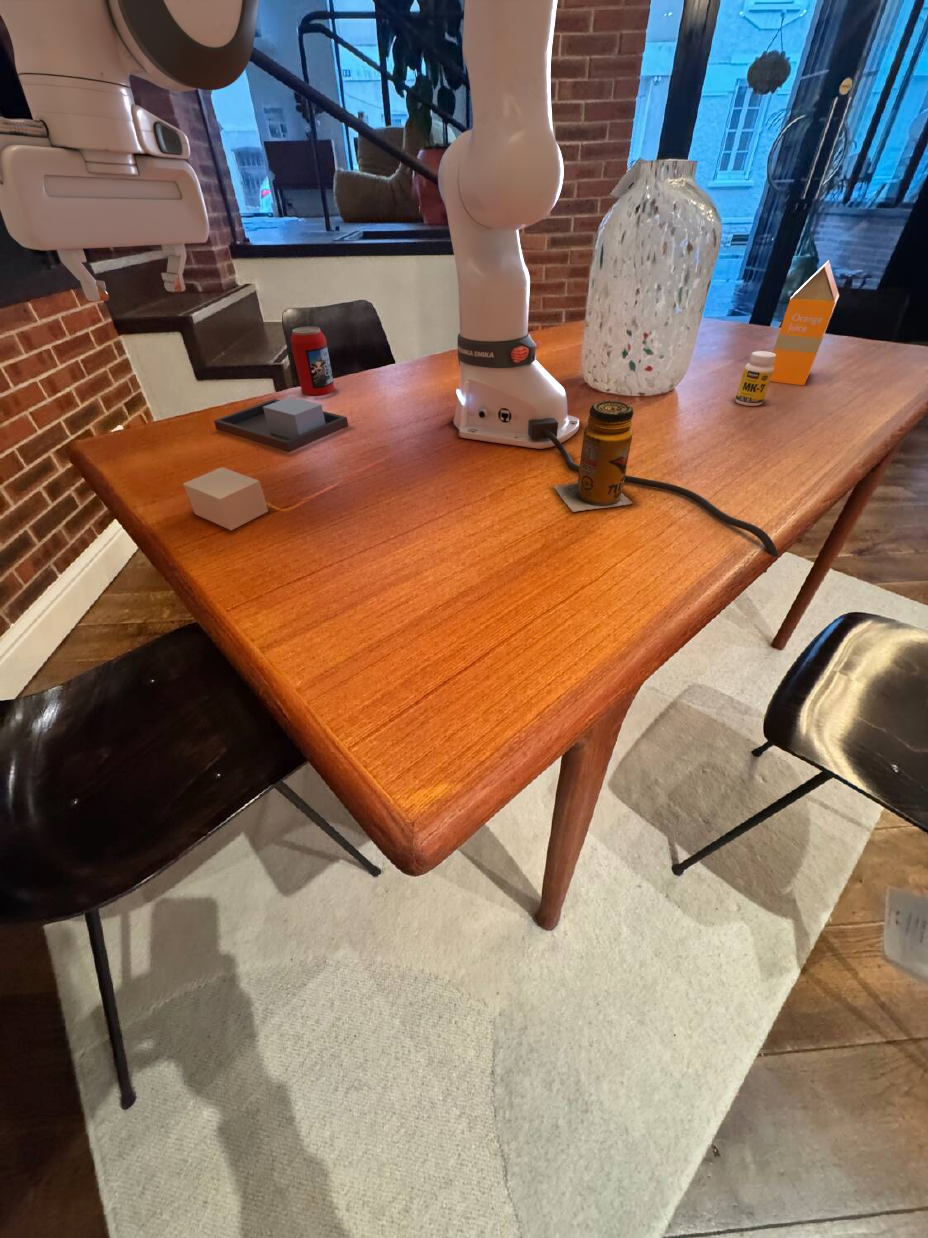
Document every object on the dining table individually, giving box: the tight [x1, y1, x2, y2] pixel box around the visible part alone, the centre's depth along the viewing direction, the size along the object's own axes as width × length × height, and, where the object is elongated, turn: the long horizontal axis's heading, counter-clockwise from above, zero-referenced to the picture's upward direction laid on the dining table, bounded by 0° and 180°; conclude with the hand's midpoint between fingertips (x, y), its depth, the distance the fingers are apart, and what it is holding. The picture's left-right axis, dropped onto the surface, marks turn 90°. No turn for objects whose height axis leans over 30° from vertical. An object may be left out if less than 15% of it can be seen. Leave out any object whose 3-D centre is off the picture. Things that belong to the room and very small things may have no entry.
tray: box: [213, 398, 349, 453], centre depth 93 cm, size 20×14×2 cm
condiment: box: [553, 400, 634, 513], centre depth 68 cm, size 7×8×12 cm
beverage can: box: [290, 326, 335, 397], centre depth 105 cm, size 7×7×12 cm
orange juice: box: [770, 259, 840, 386], centre depth 103 cm, size 8×9×20 cm
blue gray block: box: [263, 396, 325, 439], centre depth 90 cm, size 8×6×4 cm
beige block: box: [182, 466, 269, 531], centre depth 69 cm, size 8×6×4 cm
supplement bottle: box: [734, 350, 776, 407], centre depth 95 cm, size 5×5×8 cm
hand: (139, 295), depth 58 cm, fingers open, 8 cm apart
